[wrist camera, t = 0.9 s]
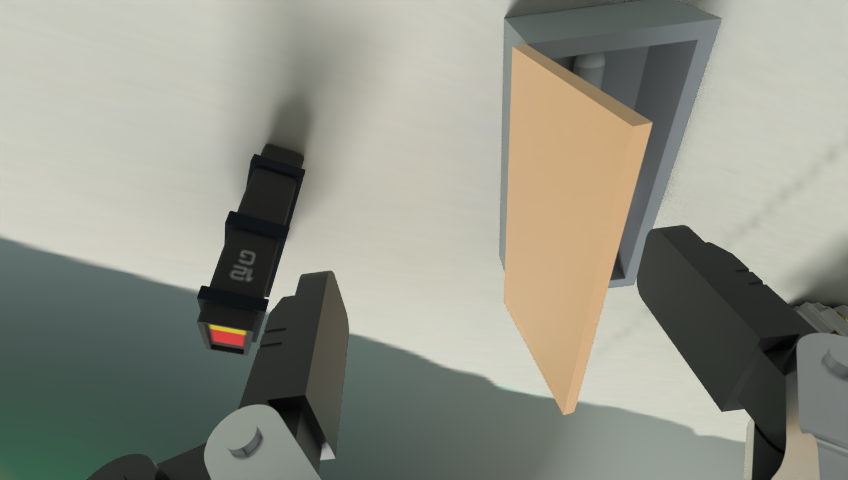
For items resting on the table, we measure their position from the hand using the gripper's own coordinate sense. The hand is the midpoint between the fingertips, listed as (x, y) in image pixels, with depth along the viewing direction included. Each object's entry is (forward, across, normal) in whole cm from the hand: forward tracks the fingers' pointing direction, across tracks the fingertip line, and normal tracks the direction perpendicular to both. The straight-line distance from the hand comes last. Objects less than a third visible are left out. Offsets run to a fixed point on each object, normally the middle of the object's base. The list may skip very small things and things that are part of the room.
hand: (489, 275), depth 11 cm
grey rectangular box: (+24, -11, +9) cm, 28 cm away
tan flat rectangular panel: (+13, -6, +10) cm, 17 cm away
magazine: (+24, +15, +10) cm, 31 cm away
